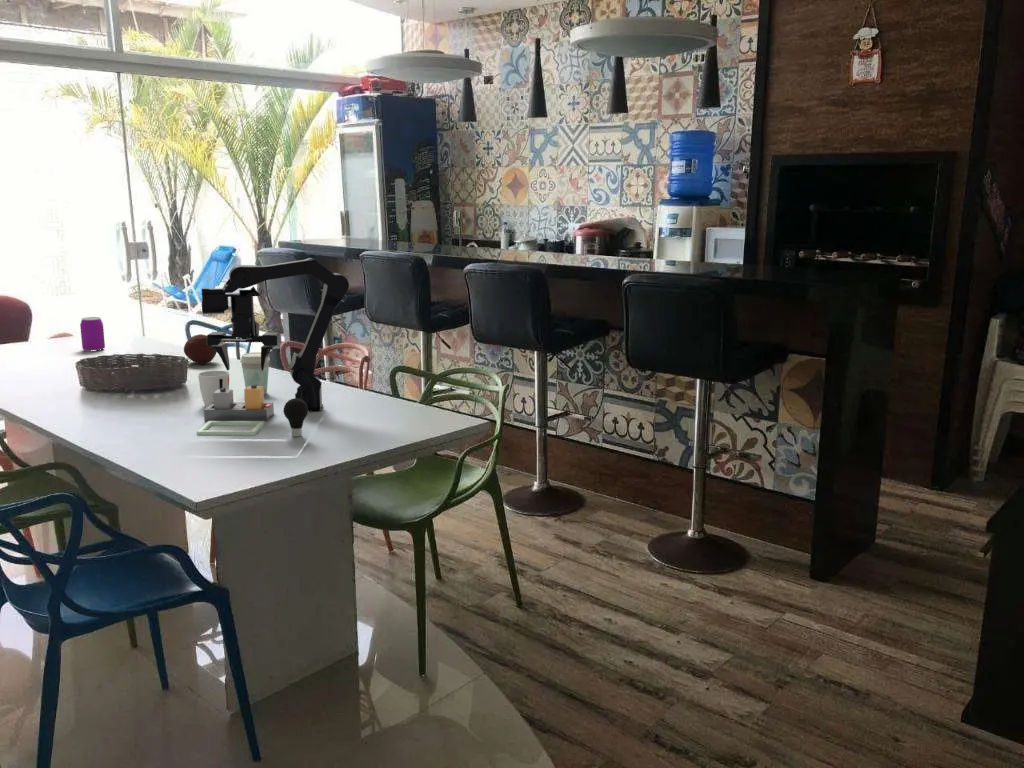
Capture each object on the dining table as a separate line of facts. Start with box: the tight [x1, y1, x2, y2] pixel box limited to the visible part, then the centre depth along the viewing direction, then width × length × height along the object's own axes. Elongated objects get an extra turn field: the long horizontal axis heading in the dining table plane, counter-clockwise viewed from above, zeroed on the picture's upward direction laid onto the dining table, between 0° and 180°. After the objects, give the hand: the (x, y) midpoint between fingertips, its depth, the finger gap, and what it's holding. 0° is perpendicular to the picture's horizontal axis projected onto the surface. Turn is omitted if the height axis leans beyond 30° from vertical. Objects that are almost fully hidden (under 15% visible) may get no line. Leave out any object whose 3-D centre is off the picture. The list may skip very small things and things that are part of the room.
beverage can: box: [79, 316, 106, 352], centre depth 319 cm, size 8×8×12 cm
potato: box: [183, 334, 218, 365], centre depth 298 cm, size 11×13×10 cm
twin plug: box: [213, 388, 234, 409], centre depth 224 cm, size 4×4×8 cm
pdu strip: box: [203, 401, 275, 422], centre depth 225 cm, size 16×8×4 cm, turn 93°
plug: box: [243, 385, 265, 409], centre depth 225 cm, size 4×4×9 cm
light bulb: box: [283, 398, 309, 438], centre depth 210 cm, size 6×6×10 cm
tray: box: [196, 421, 265, 436], centre depth 214 cm, size 14×10×2 cm
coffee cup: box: [240, 351, 271, 396], centre depth 254 cm, size 8×8×12 cm
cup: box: [197, 370, 230, 408], centre depth 237 cm, size 8×8×10 cm
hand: (245, 370), depth 231 cm, fingers open, 9 cm apart
